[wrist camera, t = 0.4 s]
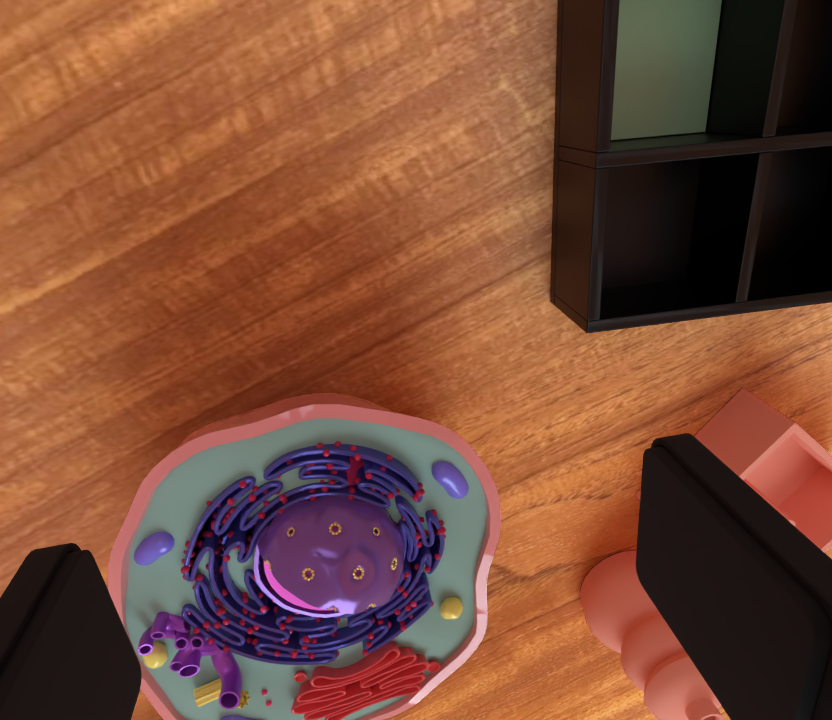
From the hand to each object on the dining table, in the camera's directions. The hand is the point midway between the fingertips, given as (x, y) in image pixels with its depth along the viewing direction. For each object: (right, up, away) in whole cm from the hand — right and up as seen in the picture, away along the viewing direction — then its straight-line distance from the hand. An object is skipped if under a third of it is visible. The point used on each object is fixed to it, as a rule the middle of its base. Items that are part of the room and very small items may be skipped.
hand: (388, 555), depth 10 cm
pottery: (+18, -7, +29) cm, 34 cm away
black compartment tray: (+14, +14, +18) cm, 27 cm away
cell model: (-5, -4, +23) cm, 24 cm away
